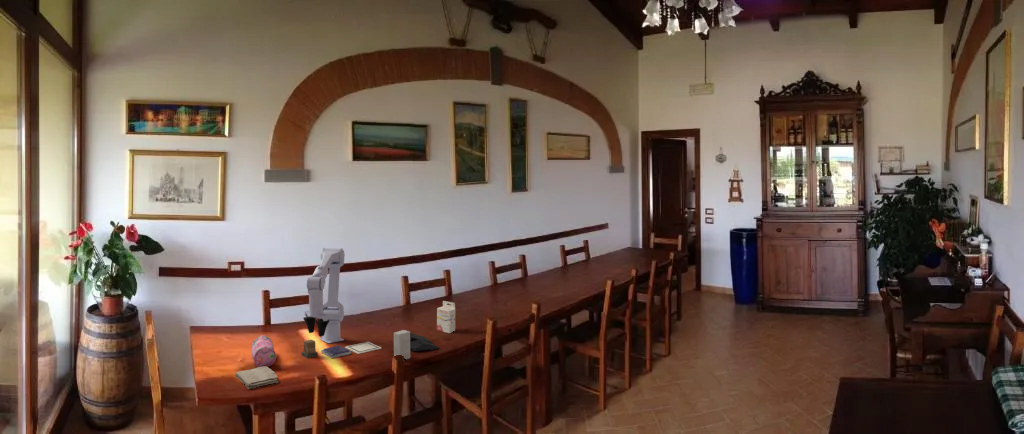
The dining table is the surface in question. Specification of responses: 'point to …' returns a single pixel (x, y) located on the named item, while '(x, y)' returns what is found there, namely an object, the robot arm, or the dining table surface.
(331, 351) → the ink pad
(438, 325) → the ink cartridge box
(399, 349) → the skincare box
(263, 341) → the pencil case
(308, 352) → the stamp
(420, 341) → the dark slate chunk
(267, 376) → the washcloth
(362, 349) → the print card
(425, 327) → the dining table surface
